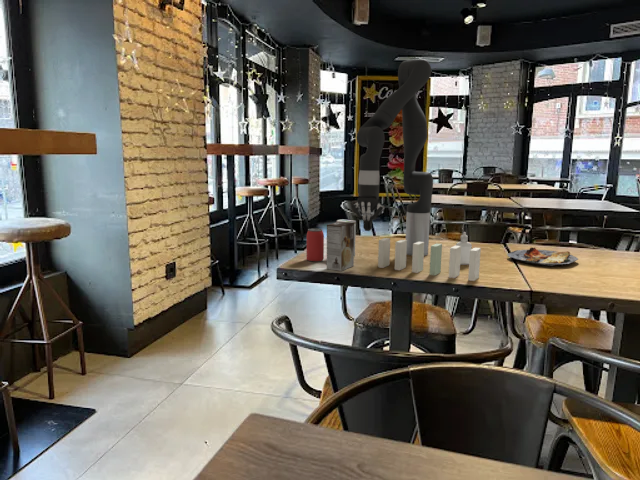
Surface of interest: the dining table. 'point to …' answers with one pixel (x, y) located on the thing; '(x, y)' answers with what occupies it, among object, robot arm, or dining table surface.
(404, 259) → the domino
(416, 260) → the domino
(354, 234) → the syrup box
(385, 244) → the domino
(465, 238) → the eye dropper bottle
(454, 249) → the domino
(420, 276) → the dining table surface
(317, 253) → the beer can
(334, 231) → the coffee box
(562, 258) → the food plate
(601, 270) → the dining table surface
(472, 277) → the domino
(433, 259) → the sage domino
